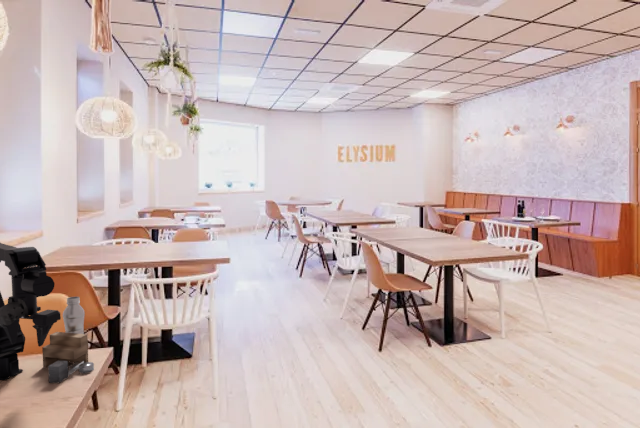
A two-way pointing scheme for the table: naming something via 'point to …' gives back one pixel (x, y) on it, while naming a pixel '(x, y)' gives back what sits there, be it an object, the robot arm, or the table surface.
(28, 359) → the table surface
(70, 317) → the plastic bottle
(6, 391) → the table surface
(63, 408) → the table surface
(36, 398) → the table surface
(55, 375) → the grey mallet
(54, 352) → the plinth cabinet
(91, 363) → the steel token
